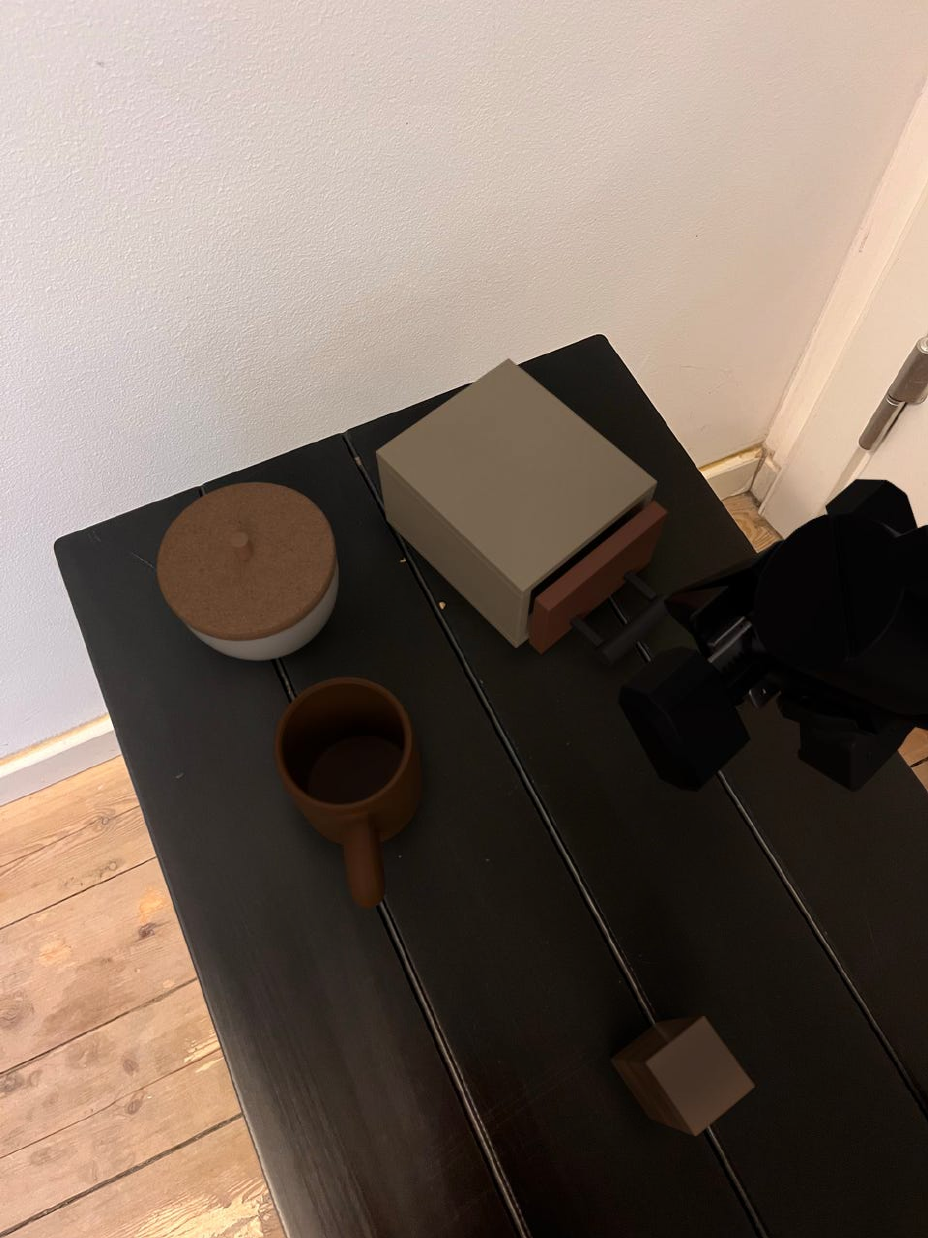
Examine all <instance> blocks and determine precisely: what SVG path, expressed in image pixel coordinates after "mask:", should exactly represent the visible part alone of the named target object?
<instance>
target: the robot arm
mask: <svg viewBox="0 0 928 1238" xmlns="http://www.w3.org/2000/svg"><path fill="white" fill-rule="evenodd" d="M824 509H825V511H826V513H825V514H821V515H819V516H817V517H815V518H812V519H810V520H808V521H807V522H805V523H804V524H802V525H800V526H799V527H797V528H796V529H794V530H793V531H792V532H791V533H790V534H788V536H786V538H784V539H779V540H775V541H774V542H772V543H771V544H770V545H769V546H768V547H766V548H764V549H762V550H761V551H758V552H755V553H754V554H752V555H750V556H748V557H746V558H744V559H742V560H740V561H738V562H736V563H734V564H732V565H730V566H727V567H726V568H724V569H721V570H719V571H717V572H715V573H714V574H710V575H708V576H707V577H705V578H702V579H700V580H697V581H695V582H693V583H692V584H689V585H686V586H684V587H682V588H680V589H678V590H675V591H673V592H672V593H671V594H669V595H668V597H667V598H666V599H665V600H664V601H663V602H664V604H665V606H666V609H667V611H668V613H669V615H670V616H671V618H672V619H673V620H675V621H676V622H677V623H678V624H679V625H680V626H681V627H682V628H683V629H685V631H687V632H688V633H689V634H690V635H691V636H692V637H693V640H694V642H695V644H696V646H697V648H698V649H695V648H692V647H688V646H685V645H679V646H676V647H672V648H669V649H666V650H663V651H659V652H658V653H657V654H655V655H654V656H653V657H652V658H651V659H650V660H649V661H647V662H645V664H644V665H643V666H642V667H641V668H640V669H638V670H637V671H636V672H635V673H634V674H633V675H631V676H630V677H629V678H628V679H626V681H625V682H624V683H622V684H621V685H620V689H619V695H618V700H617V703H618V705H619V706H620V708H621V710H622V713H623V714H624V716H625V718H626V719H627V721H628V722H629V725H630V728H631V729H632V730H633V733H634V734H635V736H636V738H637V740H638V742H639V744H640V745H641V748H642V749H643V751H644V753H645V755H646V757H647V758H648V760H649V762H650V764H651V766H652V768H653V770H654V772H655V774H656V775H657V778H658V779H659V780H660V781H663V782H665V783H666V784H669V785H671V786H672V787H674V788H677V789H679V790H681V791H687V792H693V793H698V792H699V791H700V790H701V789H703V787H704V786H705V785H706V784H708V782H709V781H711V780H712V778H714V777H715V776H716V775H717V774H718V773H719V772H720V771H721V769H723V768H724V767H725V766H726V765H727V764H728V763H729V762H731V760H732V759H734V757H735V756H736V755H737V754H739V753H740V752H741V751H742V750H743V749H744V748H745V746H746V745H747V744H748V743H749V742H750V741H751V736H750V734H749V732H748V730H747V728H746V726H745V724H744V722H743V719H742V717H741V715H740V713H739V711H738V709H737V707H738V706H741V705H742V704H743V703H745V702H749V703H750V705H751V707H752V708H753V709H756V710H761V709H763V708H764V707H765V706H766V705H767V704H768V703H770V701H771V700H772V699H774V697H776V695H778V693H779V692H780V694H779V695H778V696H777V697H776V698H775V702H776V704H777V707H778V710H779V711H780V714H781V716H782V718H783V719H787V720H789V721H793V722H795V723H798V724H799V740H800V741H799V743H800V748H799V749H798V750H797V757H798V760H800V761H801V762H802V763H804V764H806V765H808V766H809V767H811V768H812V769H814V770H816V771H817V772H819V773H821V774H822V775H824V776H826V777H827V778H828V779H829V780H832V781H833V782H835V783H836V784H838V785H839V786H841V787H843V788H845V789H846V790H847V791H850V792H851V793H856V792H858V791H859V790H861V789H862V788H863V787H864V786H866V784H867V783H868V782H869V781H870V780H871V779H872V778H873V776H875V775H876V774H877V773H878V771H879V770H881V768H883V766H884V765H885V764H886V763H887V762H888V761H889V760H890V759H891V758H892V757H893V756H894V755H895V754H896V752H898V751H899V750H900V749H901V747H902V745H903V744H904V743H905V741H906V739H907V737H908V736H909V735H910V734H911V733H912V732H913V731H914V729H920V730H924V731H926V732H928V524H924V525H921V526H919V527H918V524H917V521H916V518H915V514H914V511H913V508H912V505H911V502H910V498H909V496H908V494H907V493H906V491H904V490H903V489H901V488H900V487H899V486H897V485H896V484H895V483H893V482H892V481H889V480H888V479H879V478H876V479H874V478H854V480H853V481H852V482H850V483H849V484H848V485H847V486H846V487H844V488H843V489H842V490H841V491H840V492H839V493H837V495H836V496H835V497H834V498H832V499H831V500H830V501H829V502H828V503H827V504H826V505H824ZM699 651H700V652H699Z"/></svg>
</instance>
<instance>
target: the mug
mask: <svg viewBox="0 0 928 1238" xmlns="http://www.w3.org/2000/svg"><path fill="white" fill-rule="evenodd" d="M274 732H275V733H274V737H273V746H272V747H273V758H274V764H275V767H276V770H277V773H278V775H279V777H280V781H281V784H282V785H283V787H284V789H285V792H286V793H287V795H289V797H290V798H291V800H292V801H293V803H294V804H295V806H296V807H297V808H298V810H299V812H301V814H302V815H303V817H304V818H305V819H306V820H307V822H308V824H310V825H311V827H313V829H314V830H315V831H316V832H318V833H319V834H320V835H322V836H323V837H324V838H326V839H327V840H329V841H331V842H333V843H335V844H339V845H342V846H343V848H342V849H343V856H344V857H343V858H344V864H345V871H346V876H347V877H346V878H347V882H348V887H349V891H350V894H351V897H352V899H353V901H354V902H355V904H356V905H357V906H358V907H361V908H363V909H373V908H375V907H378V906H379V905H380V904H381V903H382V902H383V901H384V898H385V896H386V876H385V867H384V859H383V853H382V845H381V844H382V843H383V842H386V841H388V840H389V839H392V838H393V837H395V836H396V835H397V834H399V833H400V832H401V831H402V830H403V829H404V828H405V827H406V826H407V825H408V824H409V822H410V821H411V820H412V818H413V816H414V815H415V814H416V812H417V809H418V807H419V805H420V802H421V798H422V793H423V772H422V771H423V770H422V765H421V756H420V755H421V754H420V750H419V744H418V740H417V734H416V731H415V727H414V725H413V722H412V721H411V719H410V716H409V714H408V712H407V710H406V708H405V706H404V705H403V703H401V701H400V699H398V697H397V696H396V695H395V694H394V693H393V692H392V691H390V690H388V689H387V688H386V687H384V686H383V685H381V684H380V683H377V682H375V681H373V680H370V679H367V678H363V677H355V676H340V677H334V678H333V677H332V678H329V679H325V680H321V681H320V682H318V683H315V684H314V685H313V684H312V686H309V687H308V688H306V689H305V690H304V691H302V692H301V693H299V694H298V695H297V696H296V697H295V698H293V700H292V701H291V702H290V703H289V704H288V706H287V707H286V708H285V710H284V712H283V713H282V714H281V717H280V719H279V720H278V723H277V726H276V728H275V731H274Z"/></svg>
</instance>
